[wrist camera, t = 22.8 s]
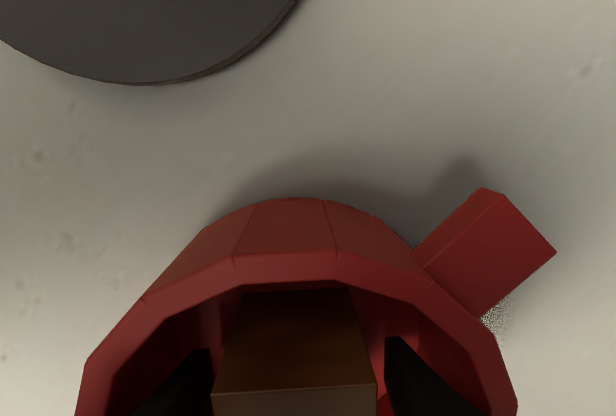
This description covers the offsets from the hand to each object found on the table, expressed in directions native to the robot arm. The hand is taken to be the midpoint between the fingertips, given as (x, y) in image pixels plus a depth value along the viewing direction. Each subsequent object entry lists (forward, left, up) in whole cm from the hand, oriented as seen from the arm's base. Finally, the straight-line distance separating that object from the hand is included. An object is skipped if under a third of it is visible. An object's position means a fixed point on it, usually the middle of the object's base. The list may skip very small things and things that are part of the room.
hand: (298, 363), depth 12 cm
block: (0, 0, -2) cm, 2 cm away
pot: (0, 0, -2) cm, 2 cm away
